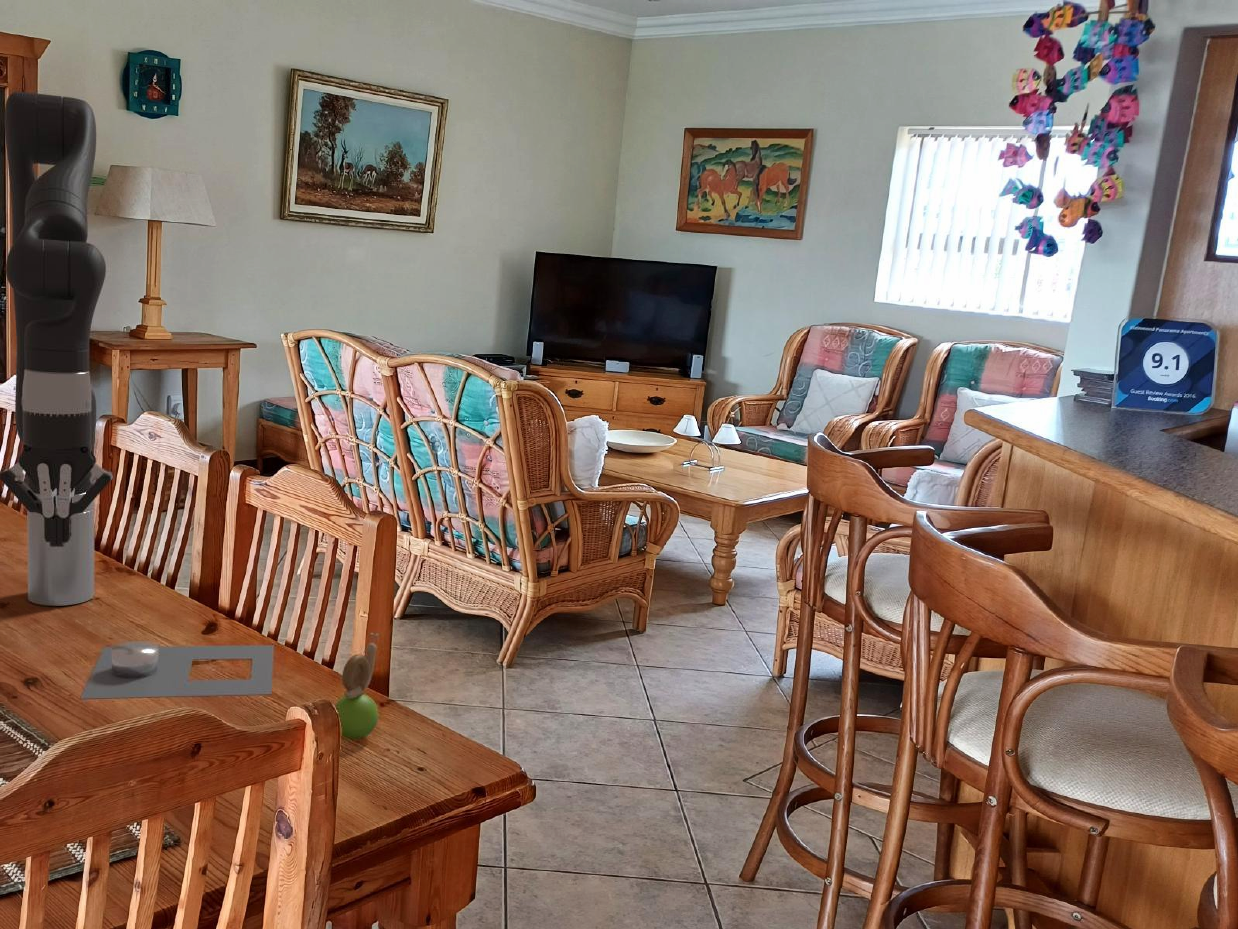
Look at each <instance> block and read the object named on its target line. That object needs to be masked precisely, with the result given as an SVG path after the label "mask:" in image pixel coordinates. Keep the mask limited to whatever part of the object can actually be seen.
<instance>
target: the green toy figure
mask: <svg viewBox="0 0 1238 929" xmlns="http://www.w3.org/2000/svg"><path fill="white" fill-rule="evenodd" d="M368 636H369V638H370V643H368V644H367V645H366V648H365V652H366V655H363V654H361V653H360V654H359V653H358V654H354V655H352V656H351V657H350V658H349V659H347V661H346V662H345V665H344V667H343V670H342V673H341V675H342V676H341V681H342V686H343V687H344V689H345V690H346V691H344V693H343V696H342V697H341V698H339V699H338V700H337V702H336V703H335V704H334V706H336V708H337V711H338V712H339V717H340V722H341V727H342V736H341V737H343V738H345V739H347V740H360V739H363V738H365V737H367V736H369V735H370V734H372V732H373V731H374V730H375V729H376V727H377V725H378V723H379V722H378V721H379V715H380V714H379V708H378V706H377V703H376V702H375V701H374V699H373V698H372V697H370V696H369V695H367V694H364V692H365V690H366V689H367V688H368V686H369V685H370V684H371V680H372V677H373V673H374V668H375V663H376V653H377V651H378V646H377V640H378V638H379V634H378V633H373V632H371V633H369V635H368ZM373 638H375V643H373V642H372V639H373Z"/></svg>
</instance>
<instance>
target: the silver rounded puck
mask: <svg viewBox="0 0 1238 929" xmlns="http://www.w3.org/2000/svg"><path fill="white" fill-rule="evenodd" d="M112 647H113V648H112V674H113V675H114V676H117V677H120V678H128V679H134V678H143V677H148V676H151V675H153V674H155V673H156V672H157V671H158V647H159V646H158V645H157V644H156V643H154V642H150V641H142V640H138V641H134V640H133V641H126V642H122V643H118V644H116V645H115V646H112Z"/></svg>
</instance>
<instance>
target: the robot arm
mask: <svg viewBox="0 0 1238 929" xmlns="http://www.w3.org/2000/svg"><path fill="white" fill-rule="evenodd" d="M4 134H5V145H6V146H5V147H6V156H7V165H8V176H9V186H10V197H11V212H12V213H11V214H12V215H11V216H12V217H11V218H12V219H11V220H12V222H11V223H12V225H11V226H12V231H11V232H12V242H11V243H12V245H11V247H10V249H9V251H8V254H7V258H6V262H5V275H6V280H7V282H8V284H9V286H10V287H11V288H12V289H13V290H12V291H13V303H14V304H13V305H14V315H15V320H14V321H15V332H16V334H15V336H16V363H15V364H16V367H15V369H16V372H15V398H14V399H15V400H14V401H15V402H14V404H15V406H14V415H15V416H14V419H15V427H16V428H15V429H16V433H17V436H18V438H19V440H20V442H22V451H21V452H20V454H19V456H18V458H17V460H18V462H17V463H15V464H14V465H13V466H11V467H8V468H6V469H4V470H3V471H2V472H1V473H0V481H1V482H3V484H4V485H5V486H6V487H7V488H8V490H9V491H10V492H11V493H12V494H13V496H15V498H16V499H17V500H18V501H19V502H20V503H21V504H22V506H23V507H24V508H25V509H26V510H27V511H26V512H27V513H26V514H27V516H26V517H27V518H26V520H27V528H26V530H27V599H28V600H27V601H29V602H30V603H32V604H36V605H41V606H49V607H51V606H52V607H53V606H55V607H56V606H59V607H60V606H61V607H62V606H69V605H70V606H71V605H77V604H82V603H85V602H87V601H90V600H92V599H93V598H94V596H95V500H96V498H97V497H98V496H99V495H100V494H101V493H102V491H103V490H104V489H105V488H106V487H107V485H109V483H110V482H112V479H114V473H113V472H112V471H111V470H106V469H104V468H102V467H101V466H100V465H99V464H97V458H96V456H95V440H96V427H97V426H96V424H97V399H96V395H95V392H94V391H93V389H92V387H91V386H92V383H91V377H90V340H91V339H90V338H91V337H90V336H91V328H92V322H93V317H94V314H95V310H96V306H97V303H98V301H99V298H100V295H101V292H102V289H103V286H104V283H105V279H106V275H107V274H106V273H107V265H106V260H105V258H104V256H103V254H102V252H101V250H99V248H98V247H96V245H94V244H92V243H89V242H87V240H88V236H89V235H88V234H89V232H88V230H89V229H88V226H89V225H88V196H89V192H90V191H89V190H90V187H91V184H92V183H91V182H92V177H93V174H94V173H93V172H94V166H95V159H96V151H97V124H96V117H95V113H94V110H93V108H92V107H91V105H90V104H89V103H88V102H87V101H86V100H83V99H80V98H74V97H71V96H62V95H53V94H45V93H37V92H29V91H28V92H26V91H25V92H24V91H15V92H14V91H13V92H11V93H10V94H9V96H8V97H7V99H6V102H5V107H4ZM35 164H36V165H45V166H46V165H47V166H52V167H51V168H49V169H48V170H46V171H45V172H43V173H42V174H41V175H40V176H39V177H38V178H37V176H36V172H35V168H34V165H35ZM25 473H26V475H27V476H26V475H25ZM25 479H26V482H25Z"/></svg>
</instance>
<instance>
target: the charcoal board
mask: <svg viewBox="0 0 1238 929" xmlns="http://www.w3.org/2000/svg"><path fill="white" fill-rule="evenodd" d="M113 647H114V646H112V647H111V646H109V647H108V646H107V647H105V646H103V648H102V651H101V652H100V654H99V657H98V659H97V661H96V664H95V665H94V667H93V670H92V672H91V674H90V677H89V678H88V681H87V683H86V685H85V688H84V689H83V691H82V694H81V696H80V698H79V699H80V700H102V699H140V698H141V699H143V698H181V697H183V698H185V697H186V698H187V697H188V698H189V697H190V698H191V697H229V696H235V697H236V696H267V695H269V696H270V695H272V694H273V693H272V692H273V691H272V689H273V672H274V671H273V670H274V650H275V645H266V644H265V645H262V644H261V645H202V646H201V645H200V646H199V645H196V646H194V645H191V646H189V645H188V646H187V645H186V646H185V645H184V646H182V645H181V646H179V645H178V646H158V671H157V672H156V673H155V674H153V675H151V676H148V677H143V678H134V679H128V678H120V677H117V676H114V675H113V674H112V648H113ZM208 660H209V661H210V660H211V661H213V660H215V661H216V660H218V661H219V660H222V661H223V660H251V670H250V678H249V679H203V680H202V679H200V680H199V679H198V680H194V679H193V680H189V677H190V673H191V669H192V664H193V661H208Z"/></svg>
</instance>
